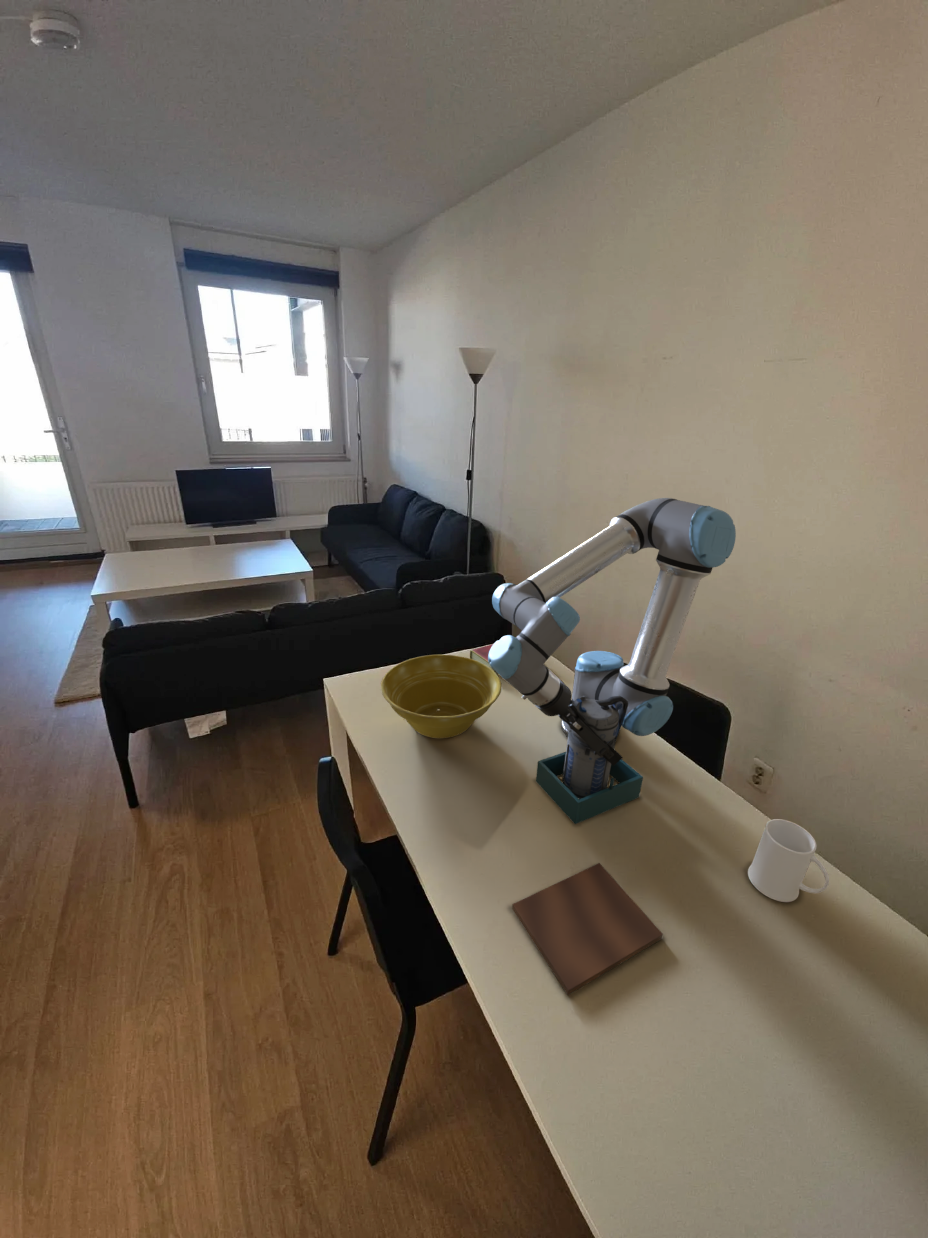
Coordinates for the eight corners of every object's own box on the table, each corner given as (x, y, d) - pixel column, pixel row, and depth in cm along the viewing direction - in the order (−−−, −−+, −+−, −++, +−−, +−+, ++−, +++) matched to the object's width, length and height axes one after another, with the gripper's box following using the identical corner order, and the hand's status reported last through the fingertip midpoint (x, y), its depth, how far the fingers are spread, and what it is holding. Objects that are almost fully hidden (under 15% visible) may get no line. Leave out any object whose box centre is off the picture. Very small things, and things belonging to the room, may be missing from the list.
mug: (826, 904, 93) (848, 856, 88) (800, 925, 89) (821, 877, 84) (764, 857, 102) (780, 811, 97) (738, 874, 98) (754, 828, 93)
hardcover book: (469, 659, 176) (470, 648, 174) (517, 646, 186) (517, 636, 185) (489, 673, 166) (490, 662, 165) (538, 659, 177) (539, 648, 175)
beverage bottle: (623, 798, 116) (641, 705, 106) (571, 809, 112) (585, 714, 102) (600, 769, 125) (615, 681, 115) (551, 778, 121) (562, 688, 111)
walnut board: (598, 867, 99) (599, 862, 98) (662, 939, 86) (663, 934, 85) (511, 908, 90) (512, 904, 90) (567, 995, 77) (568, 990, 77)
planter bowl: (458, 779, 120) (459, 732, 115) (357, 733, 136) (354, 690, 130) (518, 715, 145) (521, 674, 140) (427, 682, 161) (427, 644, 155)
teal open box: (596, 759, 128) (600, 730, 125) (639, 797, 116) (645, 767, 113) (535, 781, 120) (538, 751, 117) (575, 824, 108) (579, 792, 105)
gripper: (516, 676, 115) (573, 726, 125) (553, 736, 95) (617, 791, 104) (540, 654, 114) (595, 706, 124) (583, 710, 94) (645, 767, 103)
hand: (605, 745), depth 114 cm, fingers closed on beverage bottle, 10 cm apart
